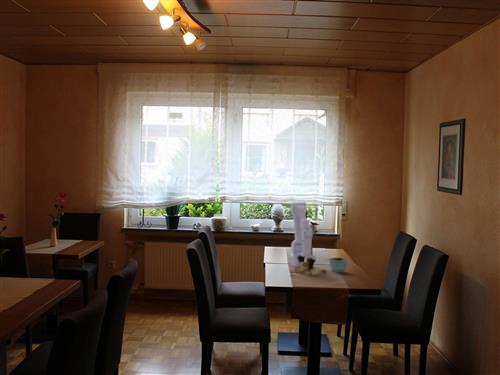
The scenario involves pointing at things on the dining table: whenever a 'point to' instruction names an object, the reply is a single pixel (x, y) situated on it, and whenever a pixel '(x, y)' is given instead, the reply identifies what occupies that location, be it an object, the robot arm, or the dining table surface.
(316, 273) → the offcut board lower
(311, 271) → the offcut board upper
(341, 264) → the flower pot
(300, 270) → the rack
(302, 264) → the tall block
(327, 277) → the dining table surface
